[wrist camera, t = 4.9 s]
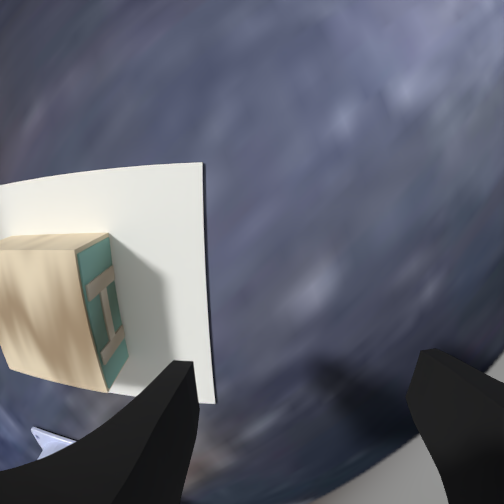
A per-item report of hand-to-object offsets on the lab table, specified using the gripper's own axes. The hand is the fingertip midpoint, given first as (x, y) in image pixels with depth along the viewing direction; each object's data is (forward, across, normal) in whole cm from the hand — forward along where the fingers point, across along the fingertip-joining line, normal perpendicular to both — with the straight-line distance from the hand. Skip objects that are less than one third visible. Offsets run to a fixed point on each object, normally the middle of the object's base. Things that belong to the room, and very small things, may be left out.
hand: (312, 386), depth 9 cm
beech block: (+4, +8, 0) cm, 10 cm away
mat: (+6, +10, 0) cm, 12 cm away
